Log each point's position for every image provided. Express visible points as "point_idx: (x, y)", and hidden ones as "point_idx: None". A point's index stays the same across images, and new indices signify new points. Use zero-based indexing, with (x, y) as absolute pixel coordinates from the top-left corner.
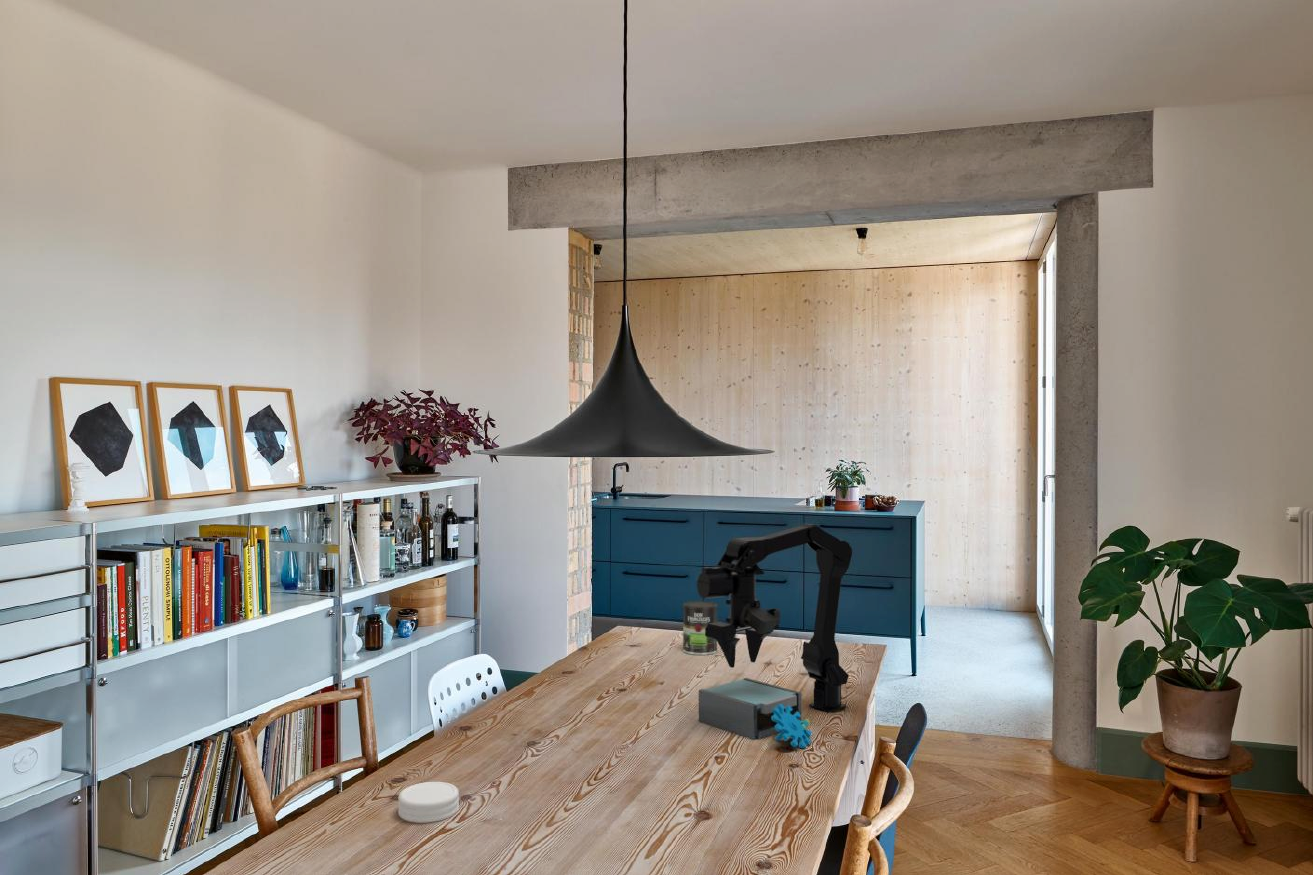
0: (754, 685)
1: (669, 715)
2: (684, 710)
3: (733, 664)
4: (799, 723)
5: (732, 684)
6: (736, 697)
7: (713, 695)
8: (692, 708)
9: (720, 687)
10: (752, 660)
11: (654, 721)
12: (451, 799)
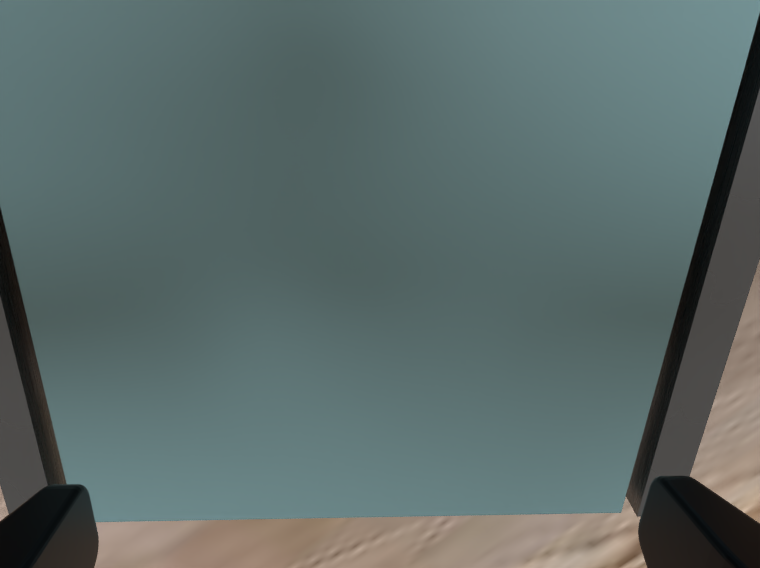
0: (130, 312)
1: (595, 518)
2: (464, 530)
3: (722, 506)
4: None
5: (291, 468)
6: (681, 123)
7: (723, 347)
8: (401, 529)
9: (462, 467)
10: (83, 535)
11: (736, 497)
12: None
